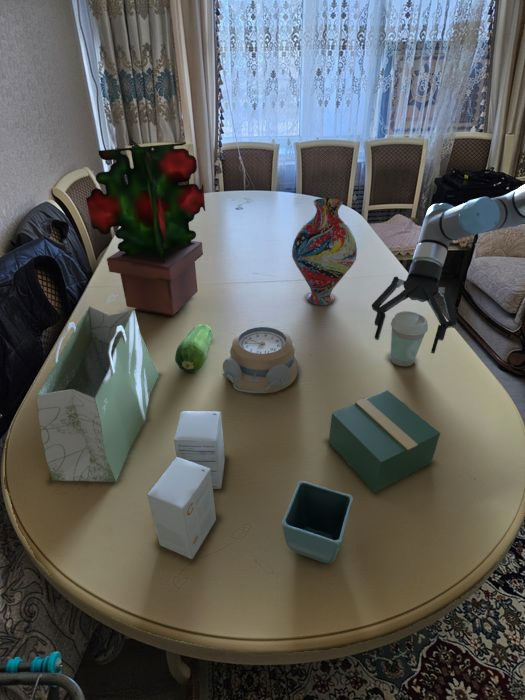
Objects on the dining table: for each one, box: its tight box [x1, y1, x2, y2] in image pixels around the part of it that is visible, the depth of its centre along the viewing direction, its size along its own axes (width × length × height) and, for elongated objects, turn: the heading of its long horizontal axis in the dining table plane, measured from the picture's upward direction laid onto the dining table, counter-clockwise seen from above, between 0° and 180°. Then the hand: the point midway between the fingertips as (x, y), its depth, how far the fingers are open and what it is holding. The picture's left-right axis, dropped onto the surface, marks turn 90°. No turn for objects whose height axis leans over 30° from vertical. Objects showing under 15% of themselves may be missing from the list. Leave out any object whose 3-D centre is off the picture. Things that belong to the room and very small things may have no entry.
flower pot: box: [281, 480, 354, 564], centre depth 69 cm, size 9×9×9 cm
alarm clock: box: [222, 326, 299, 394], centre depth 105 cm, size 17×9×23 cm
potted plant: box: [85, 139, 206, 317], centre depth 125 cm, size 22×22×45 cm
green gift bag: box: [36, 305, 160, 483], centre depth 89 cm, size 32×14×23 cm, turn 178°
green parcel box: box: [328, 389, 441, 493], centre depth 86 cm, size 14×14×8 cm
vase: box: [291, 197, 358, 306], centre depth 132 cm, size 19×19×30 cm
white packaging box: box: [173, 410, 226, 490], centre depth 80 cm, size 7×7×13 cm
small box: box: [146, 456, 217, 560], centre depth 70 cm, size 8×6×13 cm
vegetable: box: [174, 323, 214, 372], centre depth 114 cm, size 7×7×20 cm
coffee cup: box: [389, 310, 429, 367], centre depth 110 cm, size 9×8×12 cm
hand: (404, 345), depth 109 cm, fingers open, 13 cm apart
